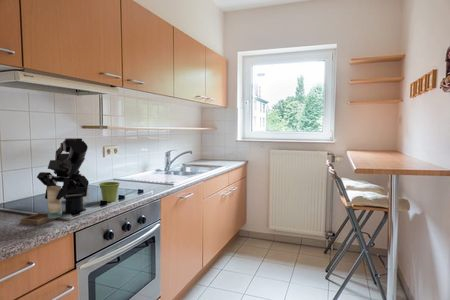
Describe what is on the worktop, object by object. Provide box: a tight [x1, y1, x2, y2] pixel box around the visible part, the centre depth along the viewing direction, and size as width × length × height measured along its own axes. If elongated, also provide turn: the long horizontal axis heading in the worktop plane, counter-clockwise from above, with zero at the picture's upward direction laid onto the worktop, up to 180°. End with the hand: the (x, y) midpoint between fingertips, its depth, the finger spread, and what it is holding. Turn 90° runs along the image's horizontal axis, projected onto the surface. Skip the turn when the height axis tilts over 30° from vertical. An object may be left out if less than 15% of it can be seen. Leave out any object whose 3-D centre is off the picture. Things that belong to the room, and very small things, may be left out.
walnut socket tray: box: [19, 212, 57, 227], centre depth 110 cm, size 8×8×2 cm
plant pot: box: [98, 181, 120, 203], centre depth 142 cm, size 9×9×9 cm
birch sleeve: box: [46, 185, 63, 219], centre depth 108 cm, size 4×4×11 cm
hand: (51, 198), depth 106 cm, fingers closed on birch sleeve, 4 cm apart
